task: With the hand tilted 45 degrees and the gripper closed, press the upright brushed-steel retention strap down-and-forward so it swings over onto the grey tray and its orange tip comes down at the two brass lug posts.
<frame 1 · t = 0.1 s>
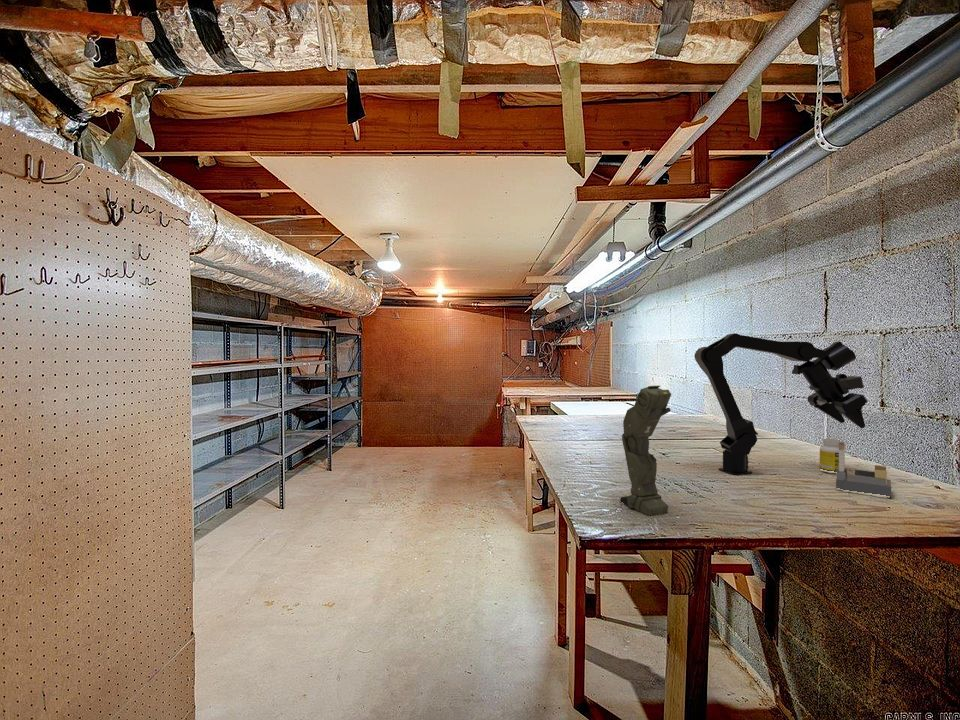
hand: (852, 424, 127), 15 cm above the table, tool tilted 35°, fingers open, 9 cm apart
mechanical leg: (645, 509, 103), on the table
strap: (841, 459, 117), point 7 cm above the table, hinge at 0.0°
grey tray: (841, 487, 117), on the table
supplement bottle: (831, 473, 132), on the table
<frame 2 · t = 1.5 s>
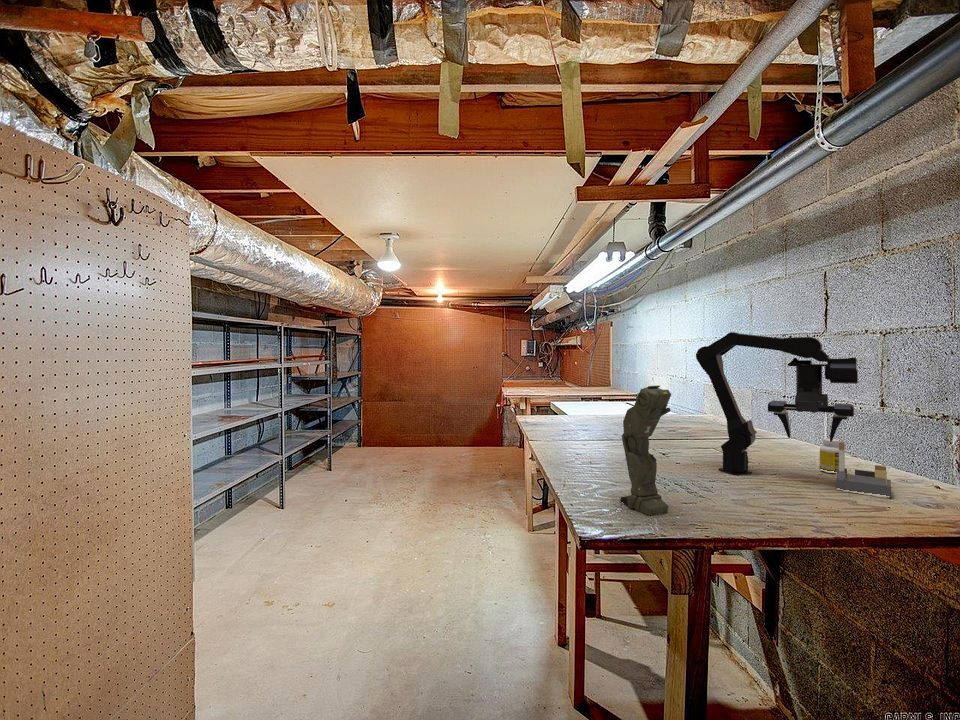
hand: (809, 439, 121), 12 cm above the table, tool pointing down, fingers open, 9 cm apart
nothing on the table moved.
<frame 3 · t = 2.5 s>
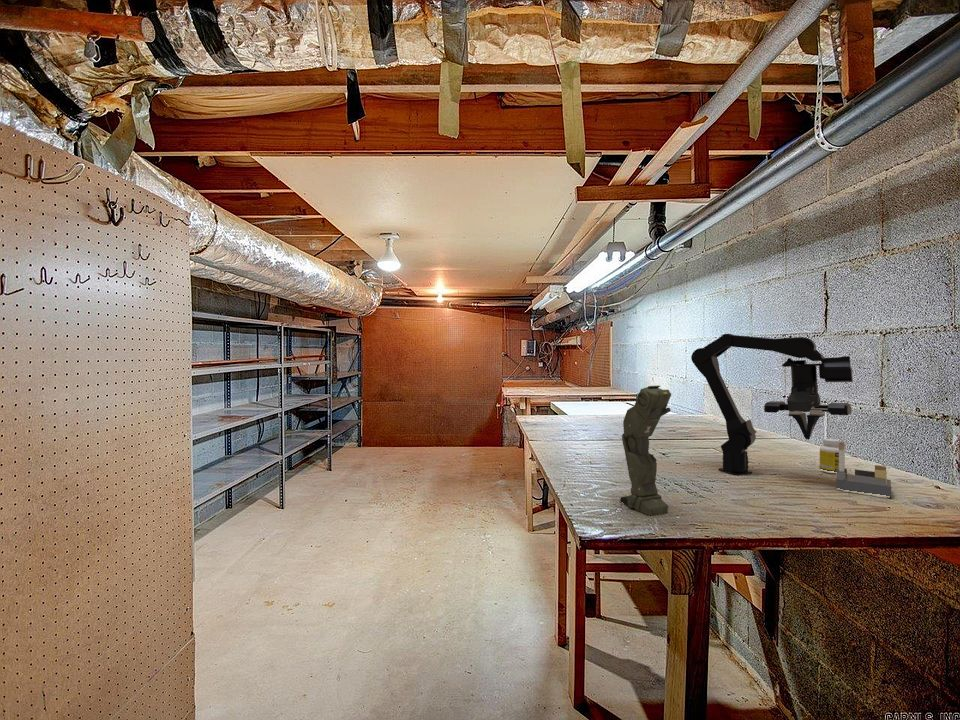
hand: (807, 439, 121), 12 cm above the table, tool pointing down, fingers closed
nothing on the table moved.
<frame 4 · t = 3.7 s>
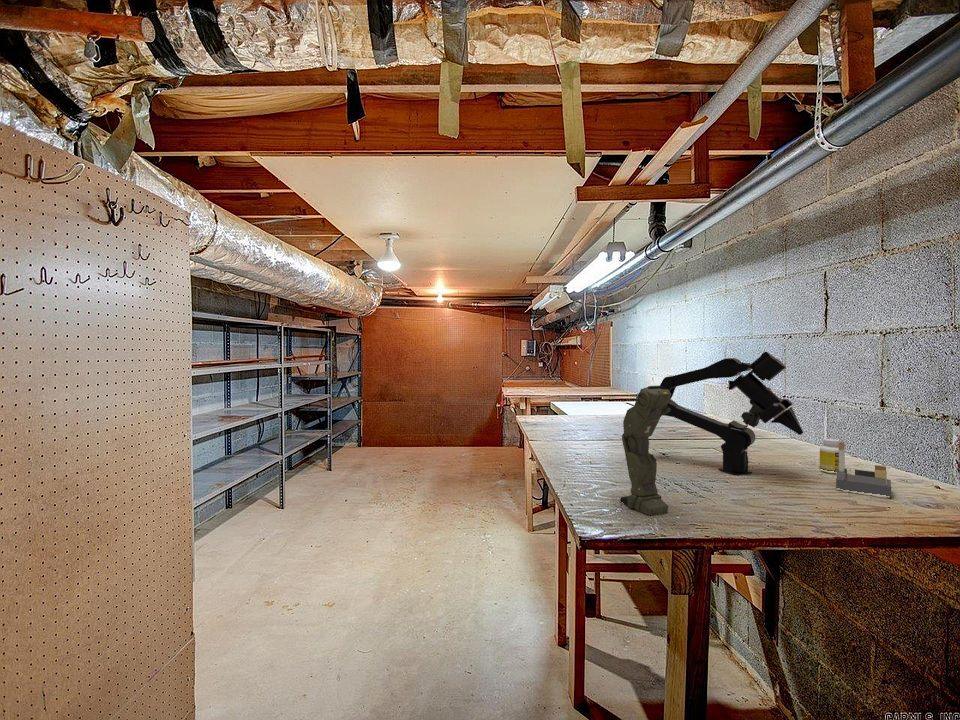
hand: (801, 433, 122), 13 cm above the table, tool tilted 45°, fingers closed
nothing on the table moved.
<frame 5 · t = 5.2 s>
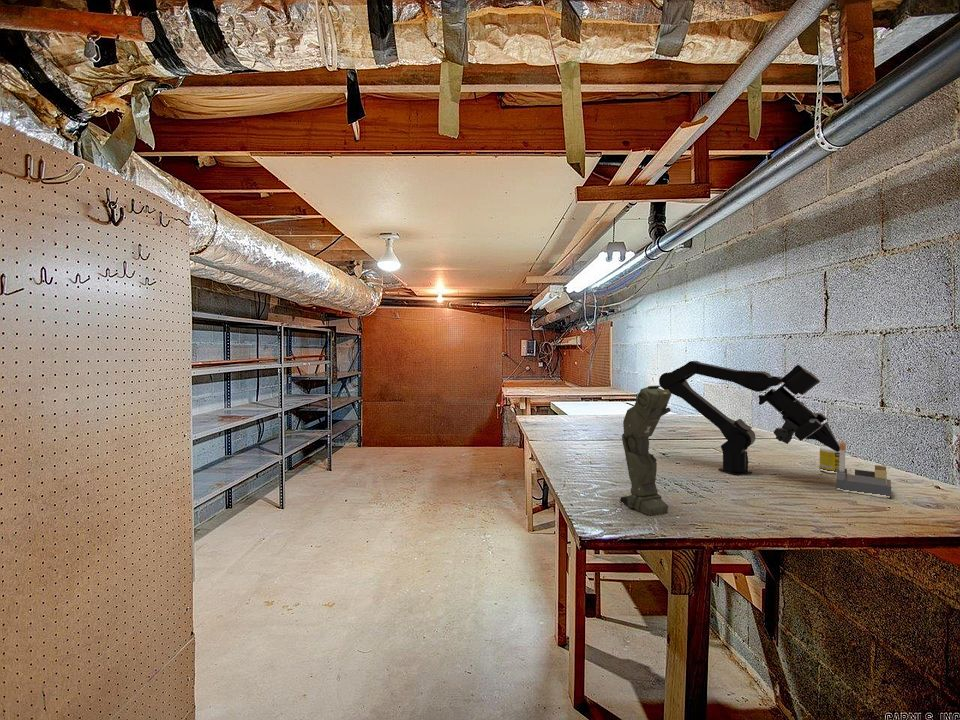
hand: (839, 450, 117), 10 cm above the table, tool tilted 45°, fingers closed, pressing on strap
strap: (842, 459, 117), point 7 cm above the table, hinge at 1.8°, touching gripper
everything else where it was.
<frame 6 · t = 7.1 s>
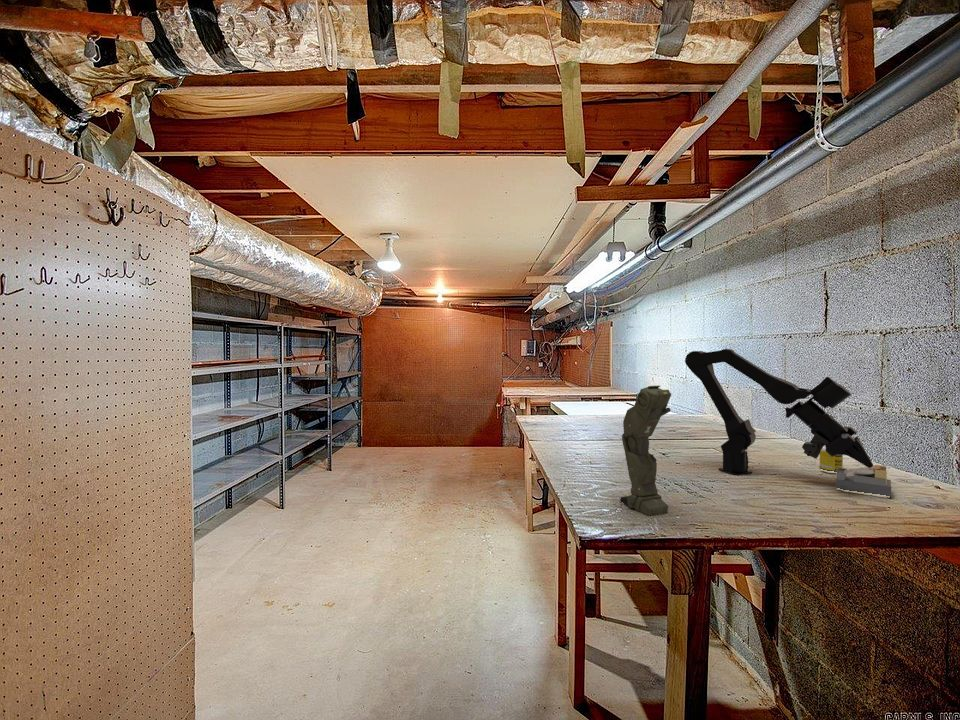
hand: (871, 466, 113), 7 cm above the table, tool tilted 45°, fingers closed
strap: (859, 471, 114), point 5 cm above the table, hinge at 72.1°
everything else where it was.
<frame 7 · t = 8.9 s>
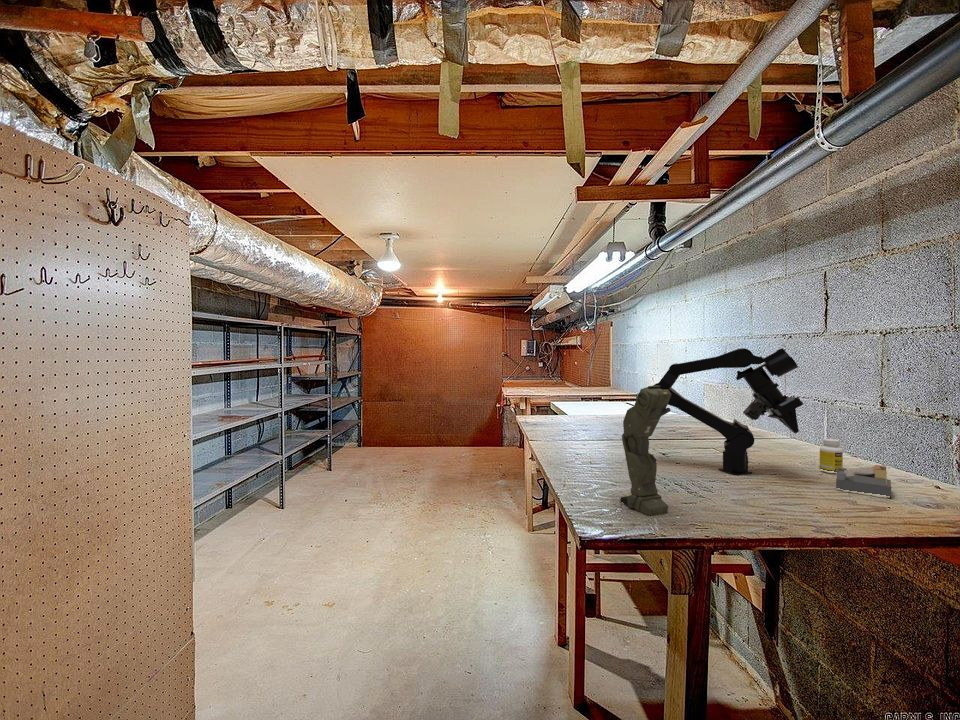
hand: (796, 432, 126), 13 cm above the table, tool tilted 30°, fingers closed
nothing on the table moved.
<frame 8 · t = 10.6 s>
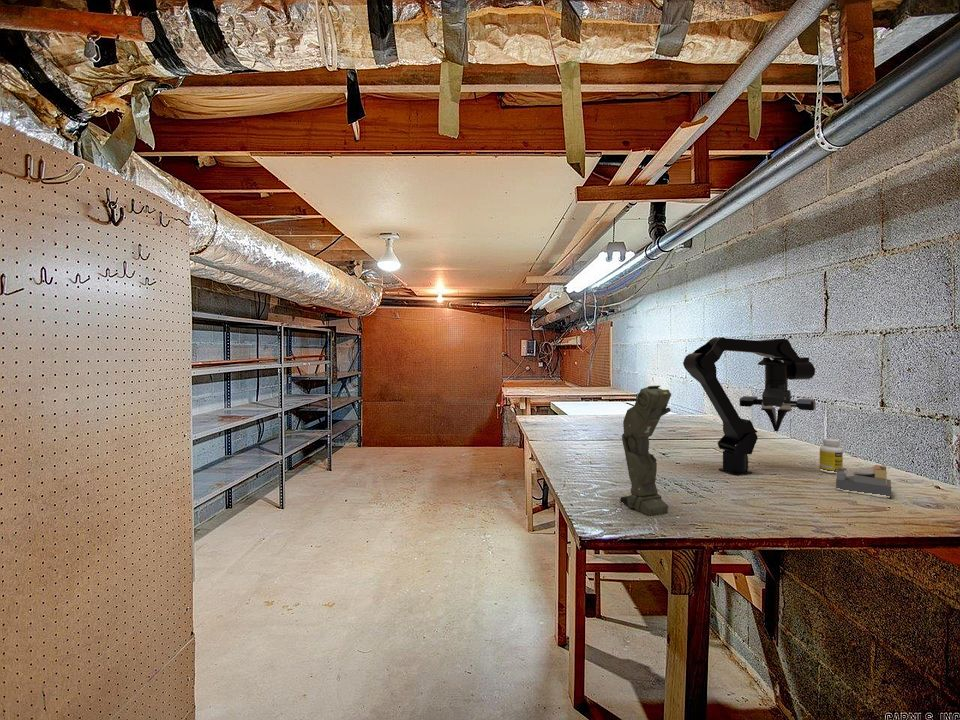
hand: (776, 431, 135), 12 cm above the table, tool pointing down, fingers closed
nothing on the table moved.
at the end: strap at +72° (first picture: +0°); supplement bottle moved 0.2 cm from its start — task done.
